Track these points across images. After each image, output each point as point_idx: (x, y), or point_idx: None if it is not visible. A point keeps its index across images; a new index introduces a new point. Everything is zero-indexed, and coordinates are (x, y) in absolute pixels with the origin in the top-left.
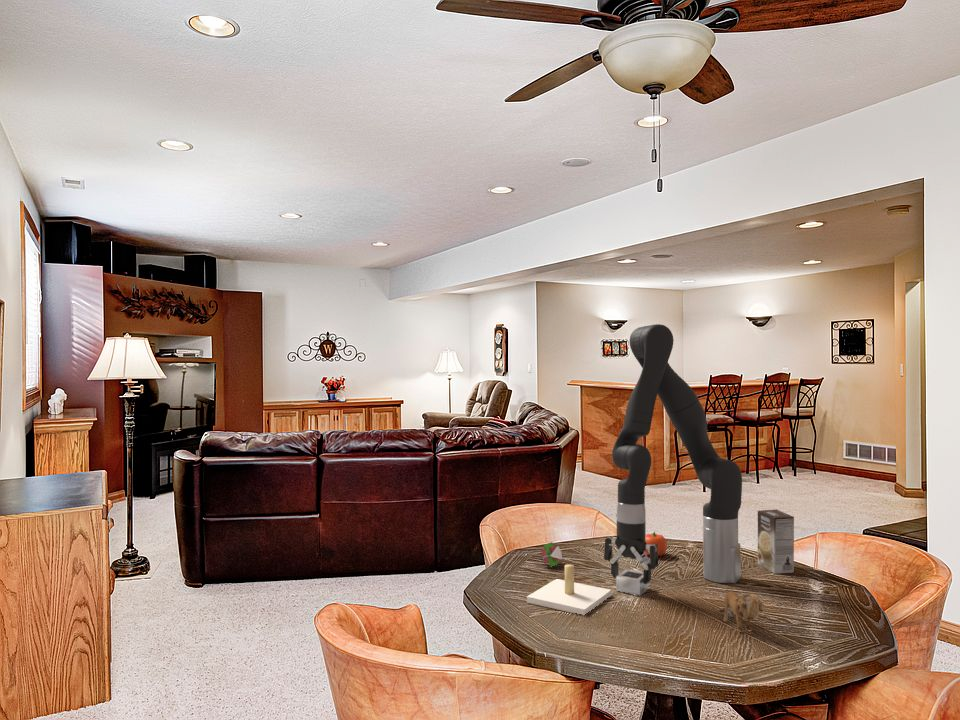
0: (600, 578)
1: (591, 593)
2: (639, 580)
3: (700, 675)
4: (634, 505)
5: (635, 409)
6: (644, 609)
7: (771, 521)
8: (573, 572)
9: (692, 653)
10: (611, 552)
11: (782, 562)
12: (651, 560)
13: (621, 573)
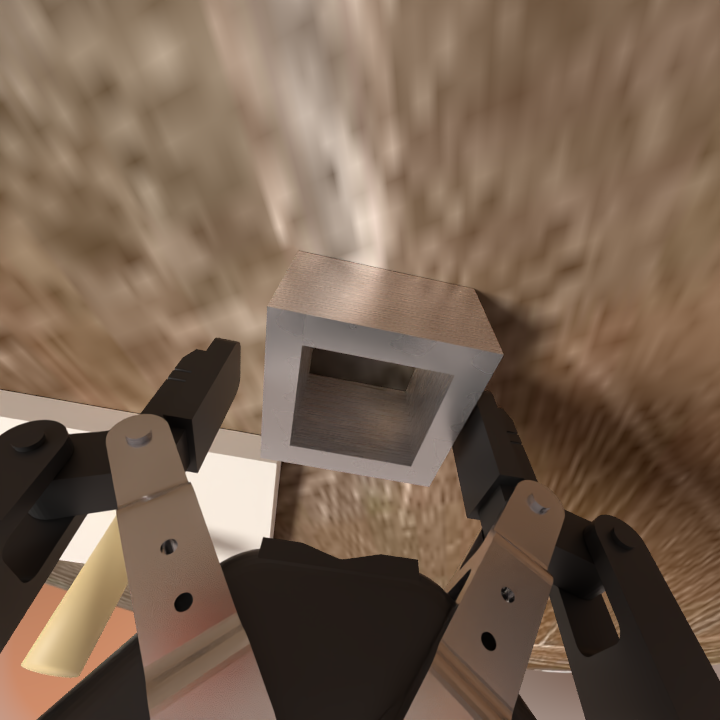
0: (58, 174)
1: (215, 509)
2: (427, 485)
3: (547, 666)
4: None
5: None
6: (448, 514)
7: None
8: (99, 633)
9: (553, 637)
10: (26, 508)
11: None
12: (576, 649)
13: (272, 409)
